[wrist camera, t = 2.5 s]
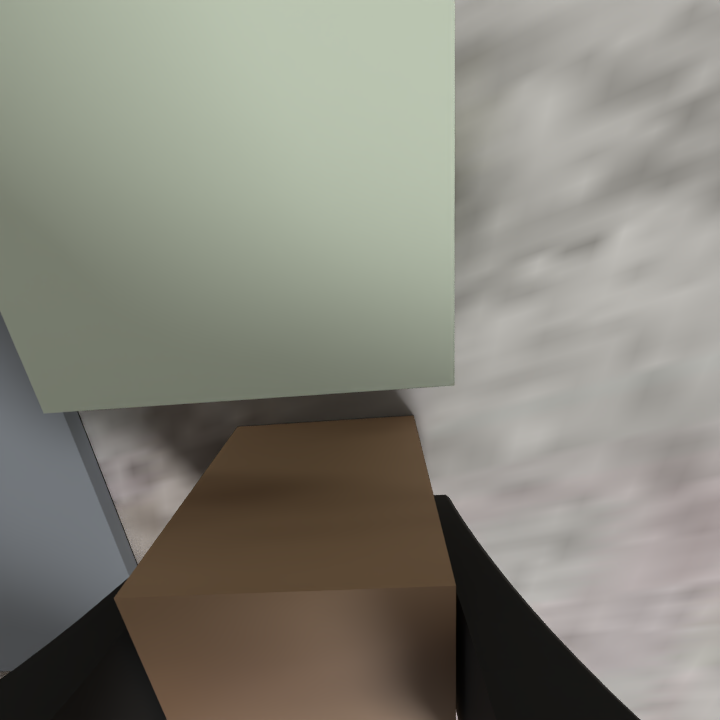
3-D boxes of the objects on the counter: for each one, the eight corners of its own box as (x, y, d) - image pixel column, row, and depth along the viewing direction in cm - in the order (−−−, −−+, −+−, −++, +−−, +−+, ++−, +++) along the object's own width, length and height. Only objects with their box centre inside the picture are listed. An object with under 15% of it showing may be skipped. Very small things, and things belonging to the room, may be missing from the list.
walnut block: (419, 553, 11) (455, 783, 6) (267, 559, 11) (195, 784, 7) (413, 415, 10) (455, 585, 5) (237, 426, 10) (113, 598, 5)
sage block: (408, 307, 9) (454, 385, 4) (216, 323, 9) (42, 413, 4) (398, 66, 7) (454, -285, 2) (164, 94, 7) (-207, -171, 3)
